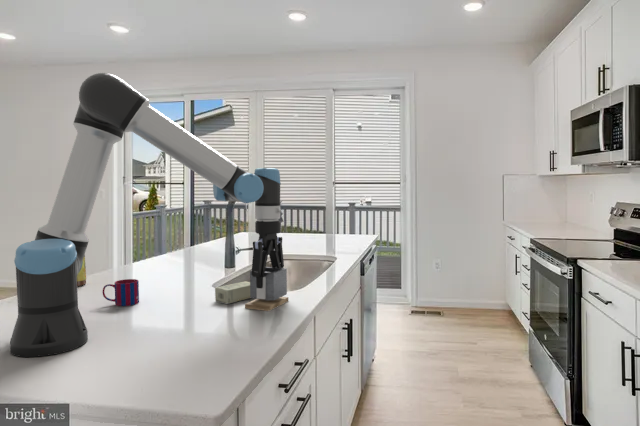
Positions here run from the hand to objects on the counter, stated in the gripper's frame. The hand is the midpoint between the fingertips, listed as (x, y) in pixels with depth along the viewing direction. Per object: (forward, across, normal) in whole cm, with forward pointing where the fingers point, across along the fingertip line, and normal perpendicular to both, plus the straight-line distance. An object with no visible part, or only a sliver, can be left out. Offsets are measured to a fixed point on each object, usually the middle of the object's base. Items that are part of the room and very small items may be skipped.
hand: (268, 295), depth 138 cm
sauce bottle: (+3, -4, +77) cm, 77 cm away
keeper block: (+3, -1, 0) cm, 3 cm away
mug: (+3, -17, +42) cm, 45 cm away
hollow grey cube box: (0, 0, 0) cm, 0 cm away
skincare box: (0, -5, +14) cm, 15 cm away
